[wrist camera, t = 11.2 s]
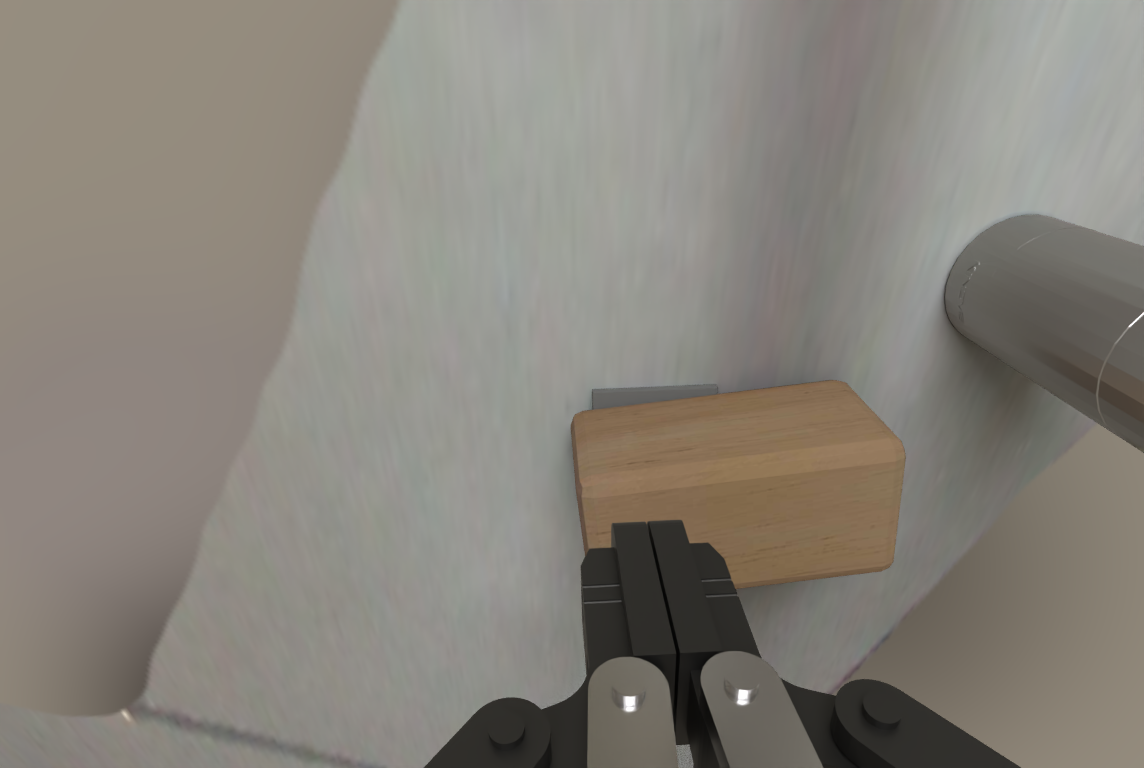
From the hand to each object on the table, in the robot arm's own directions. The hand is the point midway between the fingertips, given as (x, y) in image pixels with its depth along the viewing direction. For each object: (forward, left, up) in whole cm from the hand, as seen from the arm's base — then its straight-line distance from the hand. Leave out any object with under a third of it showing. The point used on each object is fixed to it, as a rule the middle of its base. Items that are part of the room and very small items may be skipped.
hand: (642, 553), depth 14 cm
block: (0, +18, -26) cm, 32 cm away
